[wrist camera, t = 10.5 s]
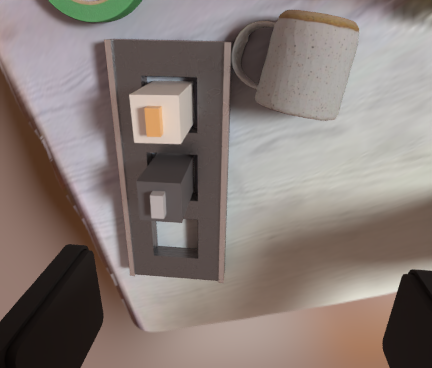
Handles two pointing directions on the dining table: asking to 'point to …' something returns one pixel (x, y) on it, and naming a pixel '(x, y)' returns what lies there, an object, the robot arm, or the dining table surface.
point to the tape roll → (96, 9)
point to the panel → (175, 150)
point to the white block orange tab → (162, 112)
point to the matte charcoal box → (166, 187)
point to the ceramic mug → (302, 63)
